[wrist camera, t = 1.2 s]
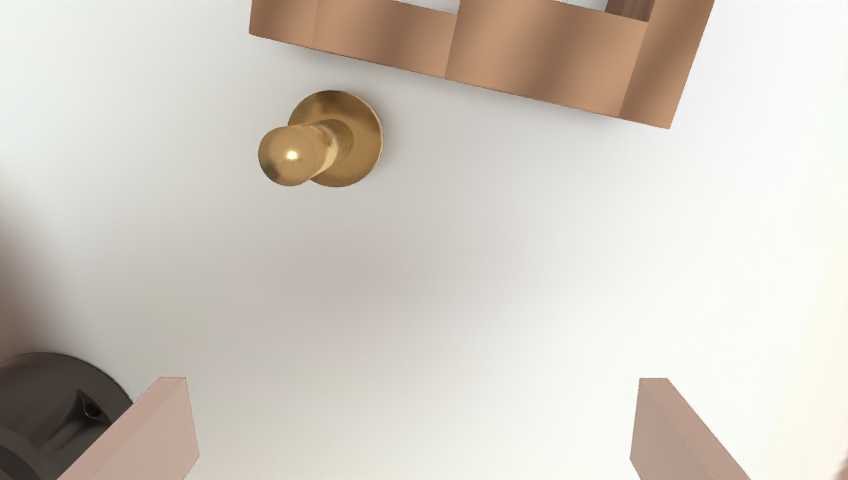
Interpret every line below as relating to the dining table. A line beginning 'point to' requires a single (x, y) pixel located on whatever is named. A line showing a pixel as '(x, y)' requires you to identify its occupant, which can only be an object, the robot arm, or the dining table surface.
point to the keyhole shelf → (515, 46)
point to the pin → (324, 142)
